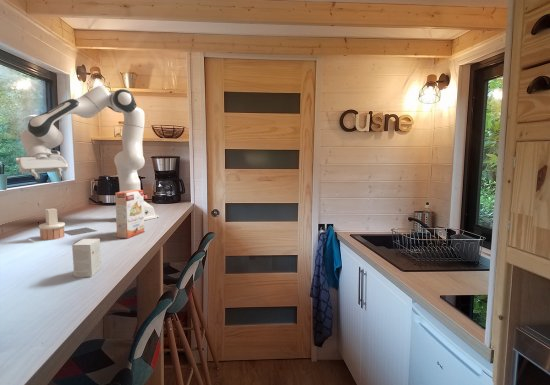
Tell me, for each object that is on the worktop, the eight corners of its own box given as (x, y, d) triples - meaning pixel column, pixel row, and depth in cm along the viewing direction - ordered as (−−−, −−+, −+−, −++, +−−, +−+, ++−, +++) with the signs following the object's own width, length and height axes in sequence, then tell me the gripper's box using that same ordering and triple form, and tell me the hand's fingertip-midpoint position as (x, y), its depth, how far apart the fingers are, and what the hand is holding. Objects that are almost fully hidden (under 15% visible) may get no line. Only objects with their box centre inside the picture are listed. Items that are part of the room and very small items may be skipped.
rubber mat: (86, 228, 181) (86, 227, 181) (97, 231, 174) (97, 230, 174) (60, 232, 171) (60, 231, 171) (71, 236, 164) (71, 235, 164)
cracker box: (128, 238, 161) (126, 192, 158) (116, 238, 162) (114, 192, 159) (145, 231, 174) (143, 189, 172) (134, 231, 176) (132, 189, 173)
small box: (84, 269, 120) (82, 238, 119) (101, 268, 121) (100, 238, 120) (73, 277, 112) (71, 244, 111) (91, 277, 113) (90, 244, 112)
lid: (59, 223, 167) (58, 206, 166) (69, 226, 161) (67, 209, 160) (35, 227, 159) (33, 209, 158) (44, 230, 153) (42, 212, 152)
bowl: (59, 235, 166) (58, 224, 166) (67, 238, 161) (67, 226, 160) (37, 238, 159) (36, 227, 159) (45, 242, 154) (44, 230, 153)
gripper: (15, 152, 165) (25, 174, 160) (62, 151, 181) (73, 171, 176) (12, 161, 168) (22, 183, 163) (59, 160, 184) (69, 179, 180)
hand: (49, 177), depth 170 cm, fingers open, 8 cm apart
